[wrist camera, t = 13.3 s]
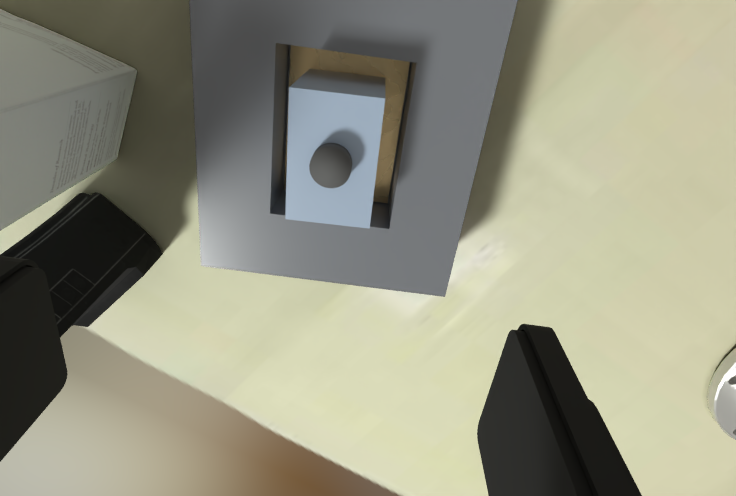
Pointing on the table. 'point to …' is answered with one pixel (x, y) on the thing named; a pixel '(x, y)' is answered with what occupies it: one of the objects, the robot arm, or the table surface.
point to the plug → (333, 147)
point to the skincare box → (54, 114)
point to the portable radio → (87, 257)
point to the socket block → (397, 144)
